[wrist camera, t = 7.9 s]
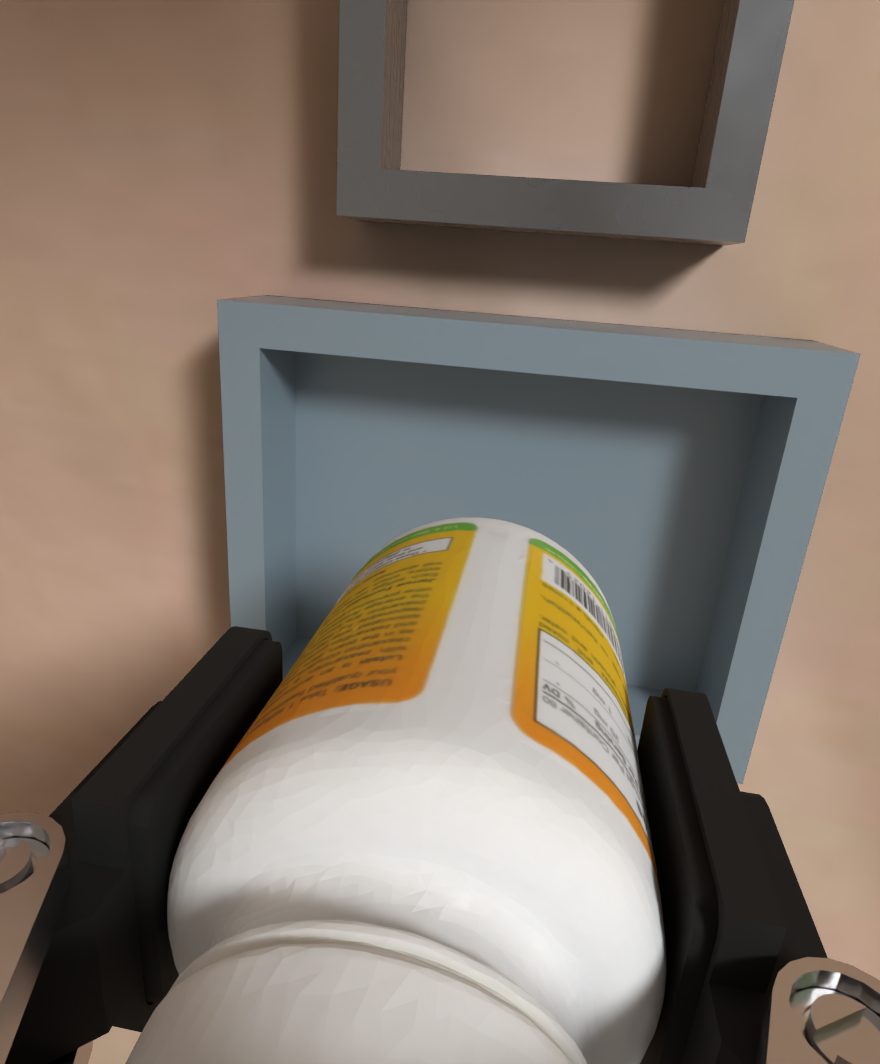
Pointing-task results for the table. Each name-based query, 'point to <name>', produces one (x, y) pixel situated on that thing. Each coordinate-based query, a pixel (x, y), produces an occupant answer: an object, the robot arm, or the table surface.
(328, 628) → the supplement bottle
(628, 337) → the tray
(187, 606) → the table surface
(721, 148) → the cradle
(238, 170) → the table surface
